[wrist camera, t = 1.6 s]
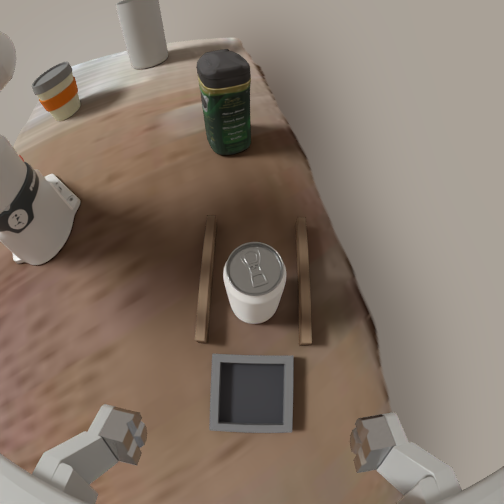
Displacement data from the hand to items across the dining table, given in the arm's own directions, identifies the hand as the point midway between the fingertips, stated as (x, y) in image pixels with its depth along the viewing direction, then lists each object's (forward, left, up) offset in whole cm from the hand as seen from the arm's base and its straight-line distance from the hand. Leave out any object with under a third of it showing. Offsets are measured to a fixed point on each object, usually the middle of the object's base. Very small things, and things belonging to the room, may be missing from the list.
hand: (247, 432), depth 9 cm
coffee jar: (-35, +27, -27) cm, 52 cm away
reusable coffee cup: (-85, +6, -27) cm, 89 cm away
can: (-9, +9, -27) cm, 29 cm away
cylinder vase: (-87, +37, -27) cm, 98 cm away
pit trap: (0, 0, -26) cm, 26 cm away
